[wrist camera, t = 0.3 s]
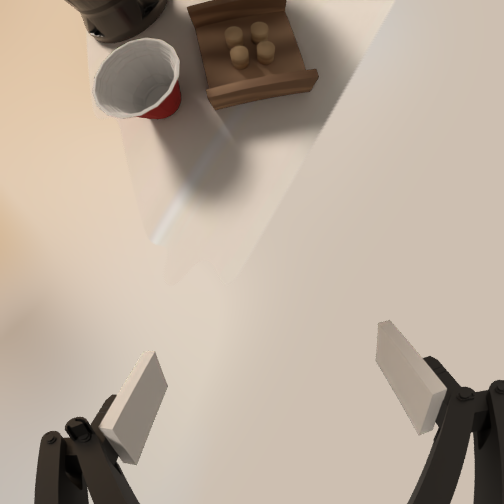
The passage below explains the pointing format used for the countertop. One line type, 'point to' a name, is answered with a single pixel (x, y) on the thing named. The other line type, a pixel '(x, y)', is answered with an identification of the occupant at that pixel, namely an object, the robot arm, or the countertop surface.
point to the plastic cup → (139, 80)
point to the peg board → (248, 51)
